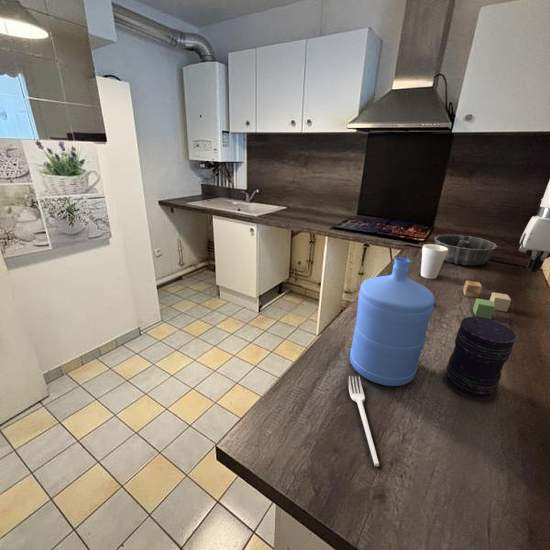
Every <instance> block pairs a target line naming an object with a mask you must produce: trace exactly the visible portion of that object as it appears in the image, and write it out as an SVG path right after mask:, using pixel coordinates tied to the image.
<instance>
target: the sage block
mask: <svg viewBox="0 0 550 550" xmlns="http://www.w3.org/2000/svg"><path fill="white" fill-rule="evenodd" d="M495 311H496V310H495V305H494V303H493V301H490V299H484V298H476V297H475V302H474V305H473V308H472V312H473V315H474V317H481V318H486V319H490V320H492V318H493V315H494V312H495Z"/></svg>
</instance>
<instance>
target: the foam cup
mask: <svg viewBox="0 0 550 550" xmlns="http://www.w3.org/2000/svg"><path fill="white" fill-rule="evenodd" d="M447 253H448V248H446V247H444V246H440V245H435V243H434V244H433V243H426V244H423V245H422V248H421V263H420V276H421V277H422V278H425V279H430V280H434V279H437V278H438V275H439V274H440V271H441V268H442V266H443V264H444V262H445V261H444V259H445V257H446V255H447Z"/></svg>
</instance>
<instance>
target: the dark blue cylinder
mask: <svg viewBox="0 0 550 550" xmlns="http://www.w3.org/2000/svg"><path fill="white" fill-rule="evenodd" d="M516 340H517V335H516V333H515V332H514V331H513V329H511V328H510V327H508V326H507V325H505V324H503V323H501V322H498V321H496V320H493V319H488V318H483V317H478V316H467V317H464V318H462V319H461V321H460V326H459V328H458V330H457V333H456V337H455V338H454V348H453V351H452V353H451V354H450V355H449V358H448V362H447V364H446V371H445V373H444V380H445V382H446V383H447V384H448V386H449V387H450V388H451V389H452V390H454V391H455V392H457V393H458V394H460V395H462V396H465V397H467V398H471V399H474V400H481V401H482V400H484V401H485V400H488V399H491V398H492V397H493V396H494V393H495V390H496V388H497V387H498V386H499V383H500V380H501V378H502V370H503V367H504V365H505V363H507V361H508V360H509V358H510V355H511V354H512V353H511V352H512V351H513V346H514V343H515V341H516Z"/></svg>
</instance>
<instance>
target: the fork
mask: <svg viewBox="0 0 550 550" xmlns="http://www.w3.org/2000/svg"><path fill="white" fill-rule="evenodd" d="M348 391H349V396H350V398H351V401H354V402H356V403H357V407H358V410H359V414H360V418H361V422H362V425H363V429H364V432H365V437H366V439H367V444H368V447H369V451H370V455H371V457H372V461H373V465H374V467H380V462H379V459H378V458H379V457H378V456H377V452H376V447H375V444H374V440H373V437H372V433H371V429H370V425H369V422H368V418H367V414H366V411H365V407H364V406H365V405H364V402H365V401H366V396H365V392H364V388H363V384H362V381H361V378H360V376H358V380H357V376H356V375H355V376H354V375H349V376H348Z"/></svg>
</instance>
